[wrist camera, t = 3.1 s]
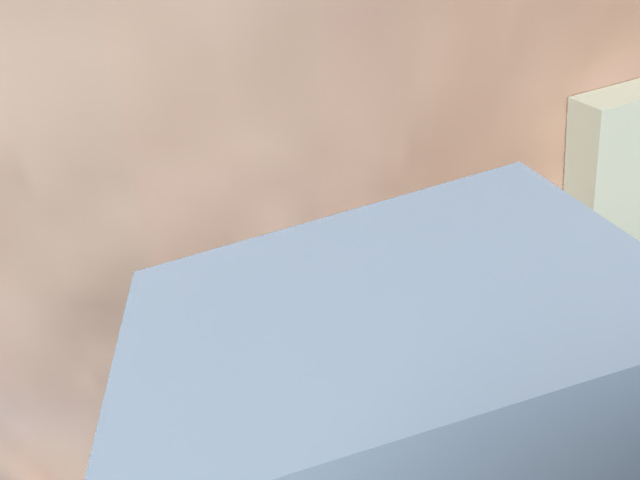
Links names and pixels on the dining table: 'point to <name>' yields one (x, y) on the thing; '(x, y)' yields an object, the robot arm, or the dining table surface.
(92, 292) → the dining table surface
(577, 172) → the pale green square slab
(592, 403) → the brick
